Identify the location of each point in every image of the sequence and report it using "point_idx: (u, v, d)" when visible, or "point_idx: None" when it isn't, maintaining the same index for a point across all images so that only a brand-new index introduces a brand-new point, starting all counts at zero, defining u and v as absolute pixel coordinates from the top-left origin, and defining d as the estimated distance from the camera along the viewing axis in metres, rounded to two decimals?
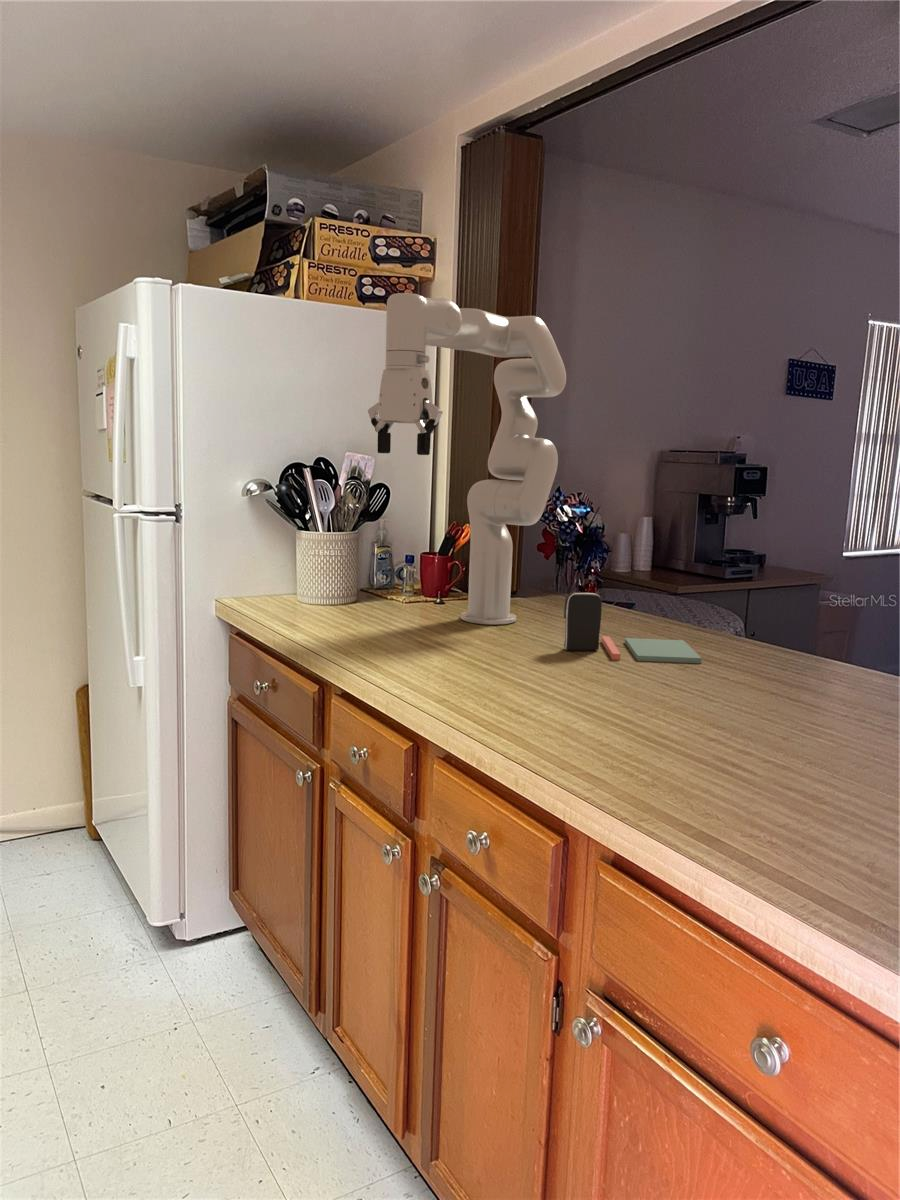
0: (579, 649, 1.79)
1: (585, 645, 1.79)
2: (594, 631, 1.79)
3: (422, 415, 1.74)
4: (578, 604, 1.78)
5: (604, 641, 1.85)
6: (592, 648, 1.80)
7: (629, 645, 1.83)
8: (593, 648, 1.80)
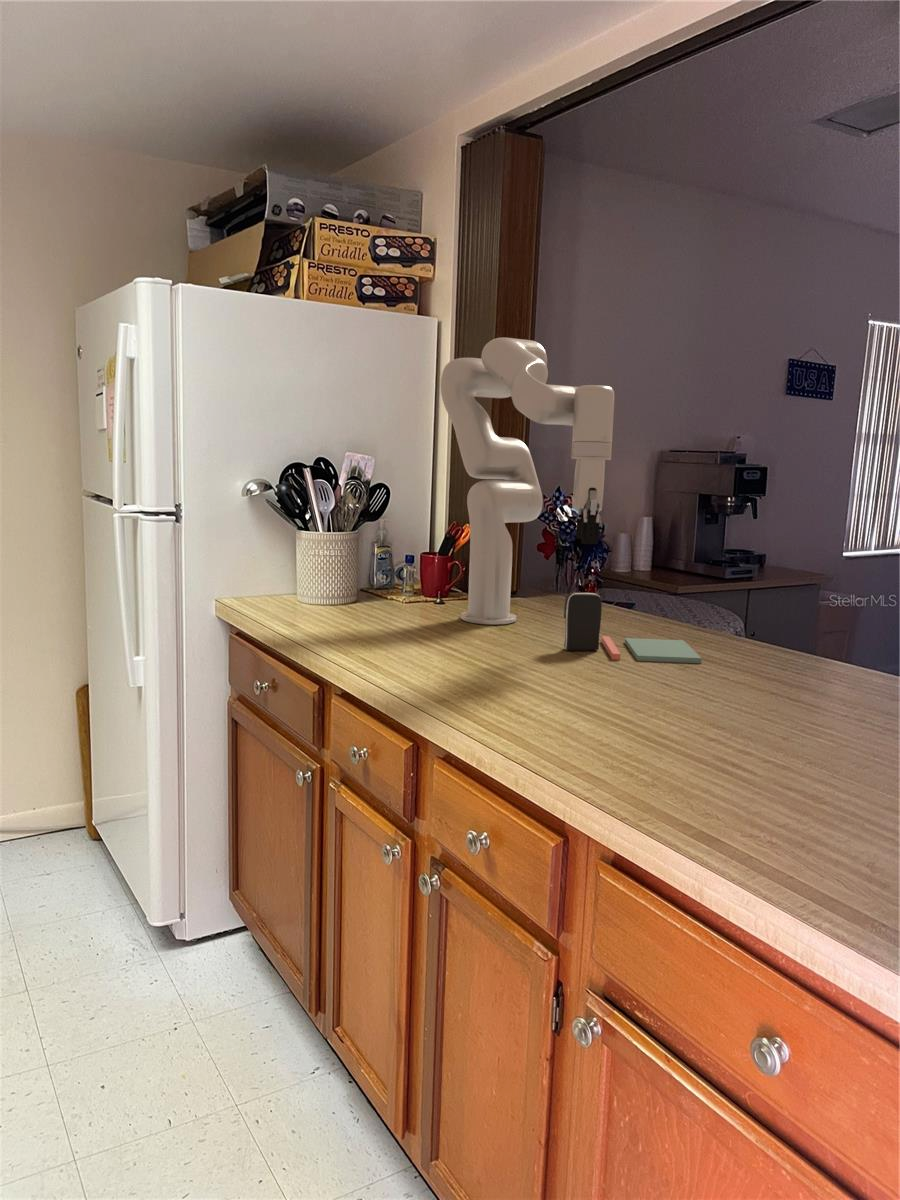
0: (579, 649, 1.79)
1: (585, 645, 1.79)
2: (594, 631, 1.79)
3: None
4: (578, 604, 1.78)
5: (604, 641, 1.85)
6: (592, 648, 1.80)
7: (629, 645, 1.83)
8: (593, 648, 1.80)
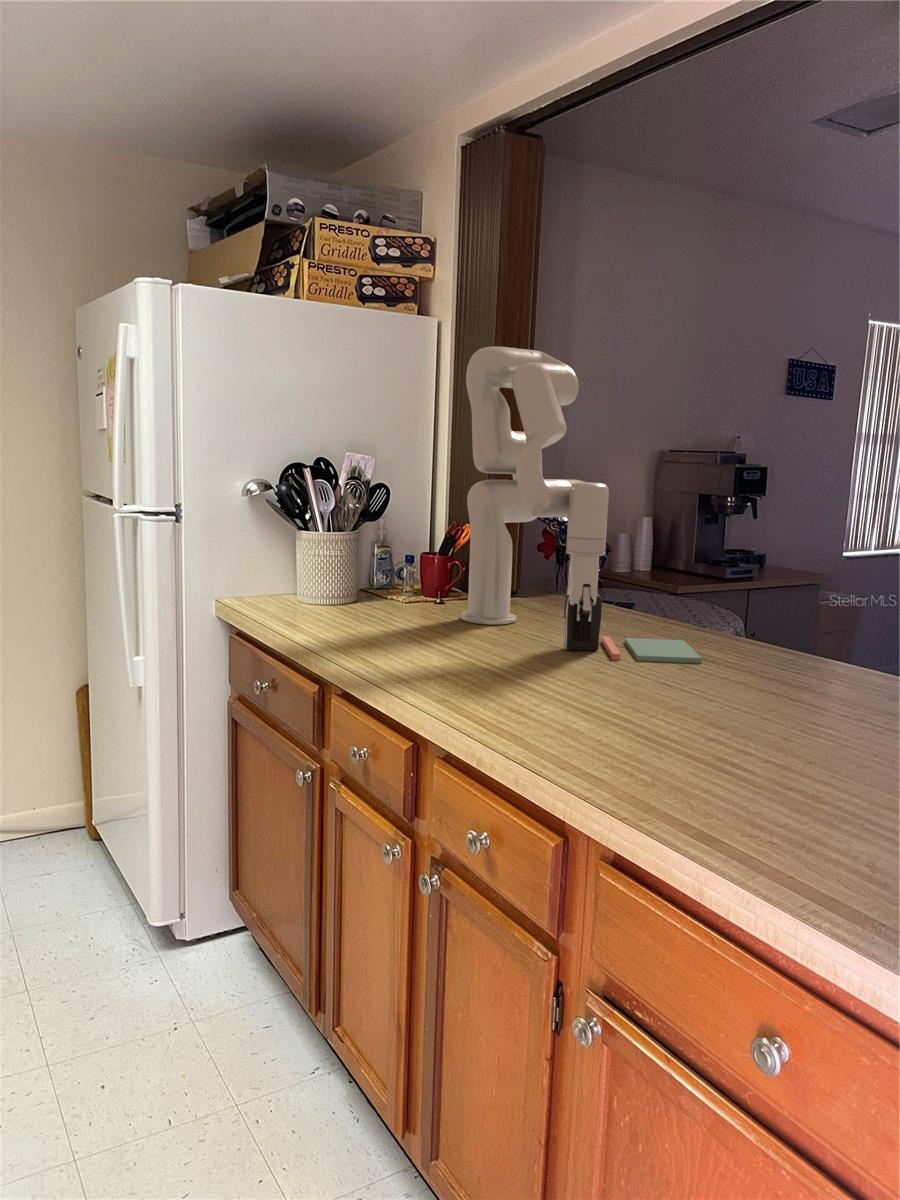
0: (579, 649, 1.79)
1: (585, 645, 1.79)
2: (594, 631, 1.79)
3: None
4: None
5: (604, 641, 1.85)
6: (592, 648, 1.80)
7: (629, 645, 1.83)
8: (593, 648, 1.80)
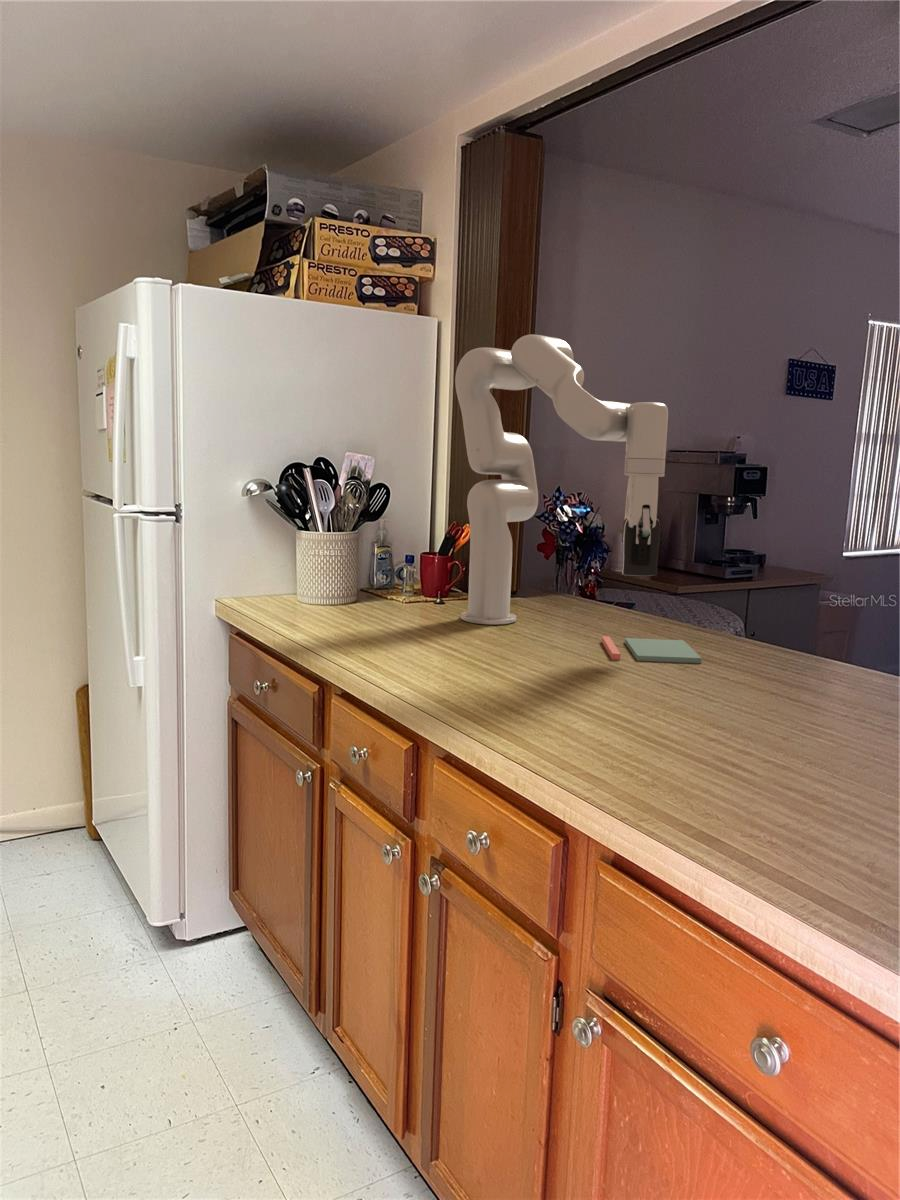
0: (636, 574, 1.76)
1: (643, 570, 1.76)
2: (652, 555, 1.76)
3: None
4: (635, 528, 1.75)
5: (604, 641, 1.85)
6: (650, 573, 1.77)
7: (629, 645, 1.83)
8: (651, 573, 1.77)
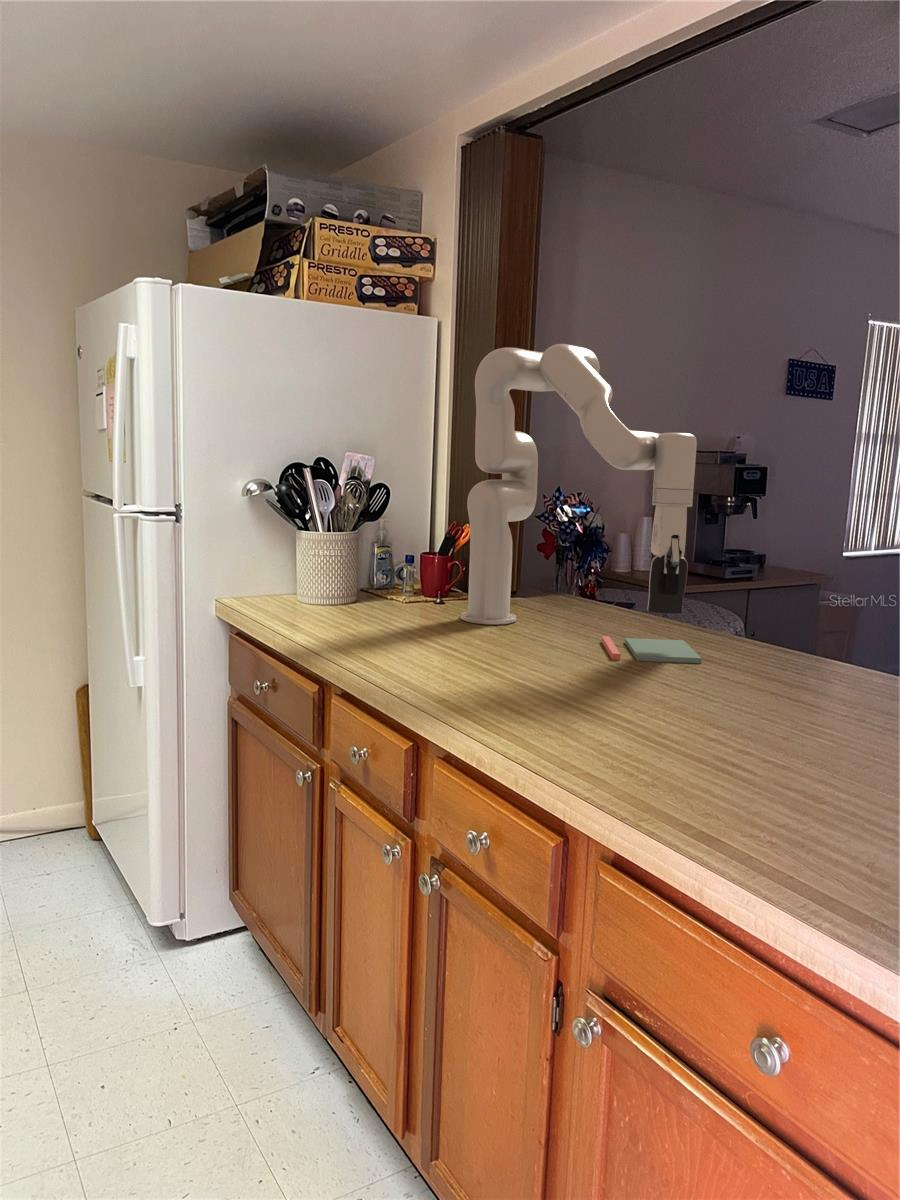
0: (661, 611, 1.78)
1: (667, 608, 1.78)
2: (678, 594, 1.77)
3: None
4: (662, 567, 1.76)
5: (604, 641, 1.85)
6: (675, 611, 1.78)
7: (629, 645, 1.83)
8: (676, 611, 1.78)
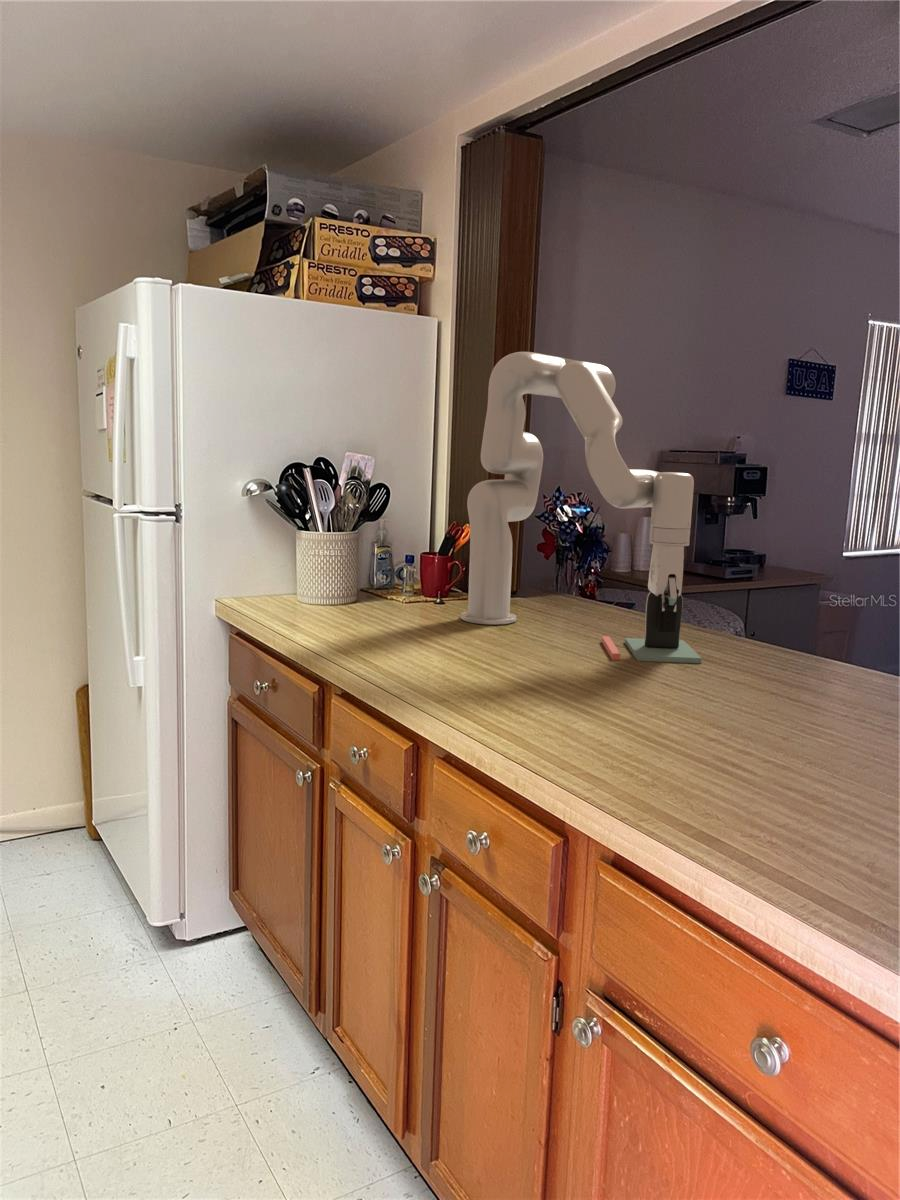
0: (658, 646, 1.80)
1: (664, 642, 1.79)
2: None
3: None
4: (657, 601, 1.78)
5: (604, 641, 1.85)
6: (671, 646, 1.79)
7: (629, 645, 1.83)
8: (673, 646, 1.79)
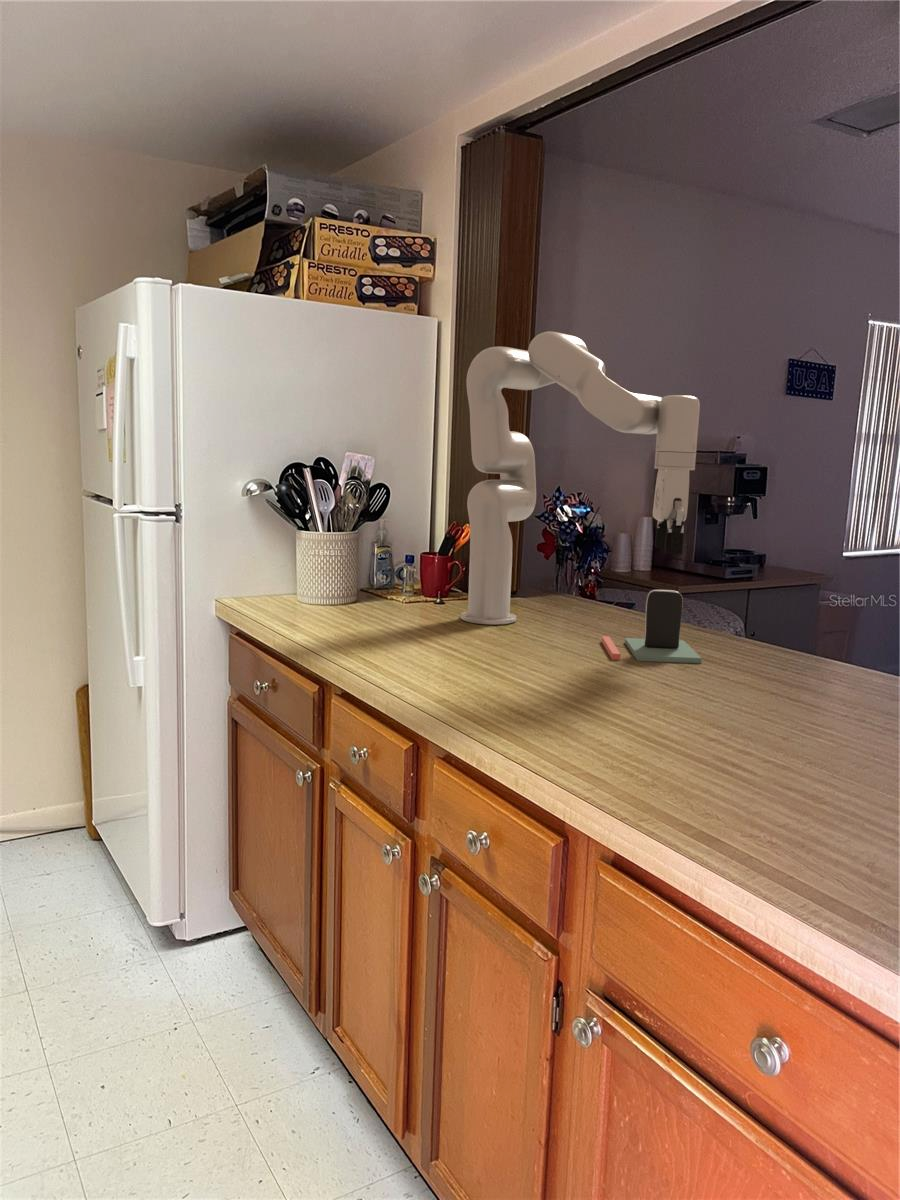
0: (658, 646, 1.80)
1: (664, 642, 1.79)
2: (674, 628, 1.79)
3: None
4: (657, 601, 1.78)
5: (604, 641, 1.85)
6: (671, 646, 1.79)
7: (629, 645, 1.83)
8: (673, 646, 1.79)
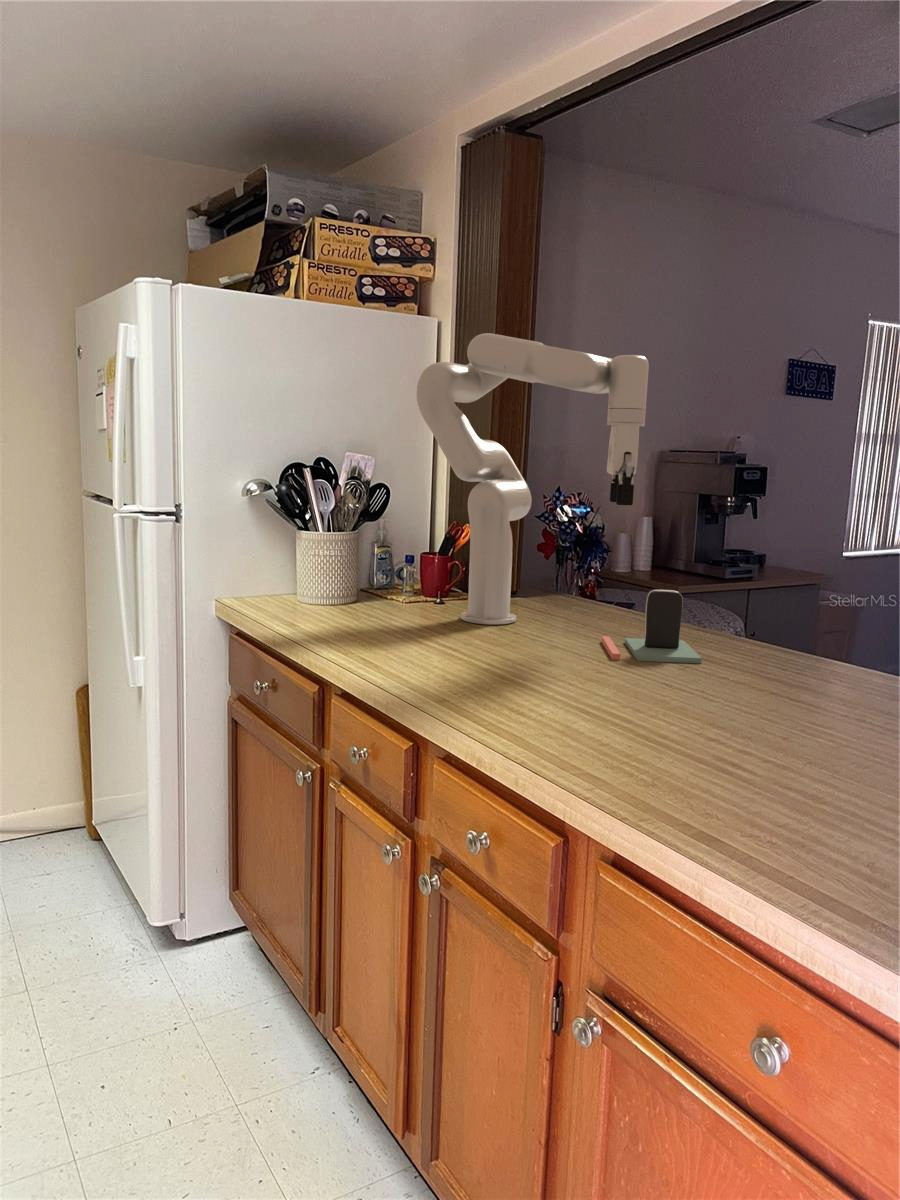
0: (658, 646, 1.80)
1: (664, 642, 1.79)
2: (674, 628, 1.79)
3: None
4: (657, 601, 1.78)
5: (604, 641, 1.85)
6: (671, 646, 1.79)
7: (629, 645, 1.83)
8: (673, 646, 1.79)
